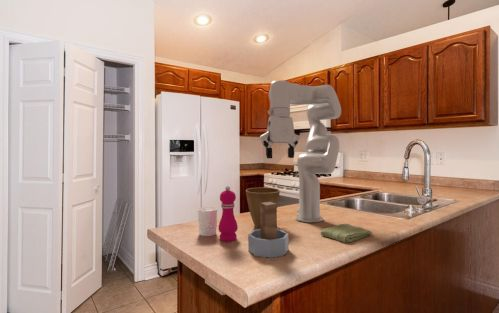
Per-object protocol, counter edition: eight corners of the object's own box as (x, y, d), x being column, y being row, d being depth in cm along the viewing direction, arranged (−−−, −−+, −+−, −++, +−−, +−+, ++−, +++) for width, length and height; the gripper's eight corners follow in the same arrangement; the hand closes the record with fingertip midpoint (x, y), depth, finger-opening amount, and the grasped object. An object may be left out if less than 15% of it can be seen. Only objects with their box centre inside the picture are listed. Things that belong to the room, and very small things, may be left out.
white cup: (198, 237, 109) (198, 211, 108) (196, 231, 116) (196, 207, 116) (219, 235, 111) (218, 210, 110) (216, 230, 118) (215, 206, 118)
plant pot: (240, 224, 127) (240, 188, 127) (268, 220, 134) (268, 186, 134) (256, 232, 114) (255, 193, 114) (286, 227, 121) (286, 190, 120)
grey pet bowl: (244, 247, 98) (243, 231, 97) (275, 242, 103) (275, 227, 103) (260, 260, 86) (260, 242, 86) (294, 253, 91) (294, 236, 91)
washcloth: (374, 236, 110) (374, 227, 110) (346, 245, 100) (346, 236, 100) (345, 228, 121) (345, 221, 121) (317, 236, 111) (317, 228, 110)
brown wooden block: (260, 247, 95) (260, 202, 95) (270, 245, 97) (270, 201, 97) (266, 250, 92) (266, 205, 91) (276, 248, 94) (276, 203, 93)
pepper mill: (227, 235, 112) (227, 184, 111) (241, 238, 107) (241, 186, 106) (214, 239, 106) (213, 186, 105) (228, 243, 101) (227, 188, 101)
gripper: (264, 111, 102) (265, 158, 103) (304, 113, 109) (304, 157, 110) (255, 113, 109) (256, 158, 109) (293, 115, 116) (293, 157, 117)
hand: (280, 158), depth 110 cm, fingers open, 9 cm apart
